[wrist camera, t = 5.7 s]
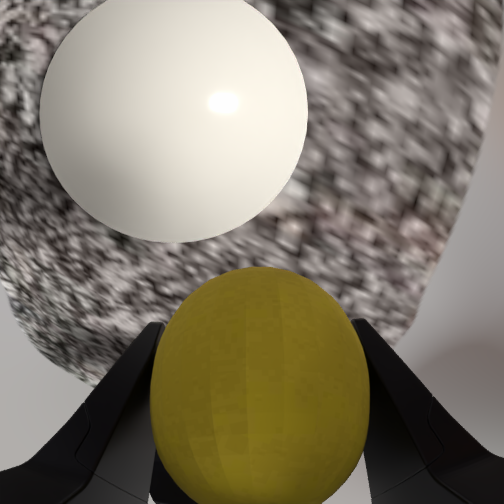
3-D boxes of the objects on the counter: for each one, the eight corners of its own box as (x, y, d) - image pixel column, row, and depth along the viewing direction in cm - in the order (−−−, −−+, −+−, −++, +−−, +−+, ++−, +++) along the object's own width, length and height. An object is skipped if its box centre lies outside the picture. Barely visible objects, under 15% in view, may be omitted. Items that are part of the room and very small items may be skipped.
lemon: (167, 315, 12) (129, 523, 6) (197, 190, 9) (121, 516, 3) (298, 344, 13) (315, 534, 7) (367, 242, 10) (454, 497, 4)
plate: (302, 226, 21) (304, 236, 20) (84, 239, 22) (77, 248, 21) (299, -24, 12) (303, -29, 11) (33, 28, 12) (22, 29, 11)
